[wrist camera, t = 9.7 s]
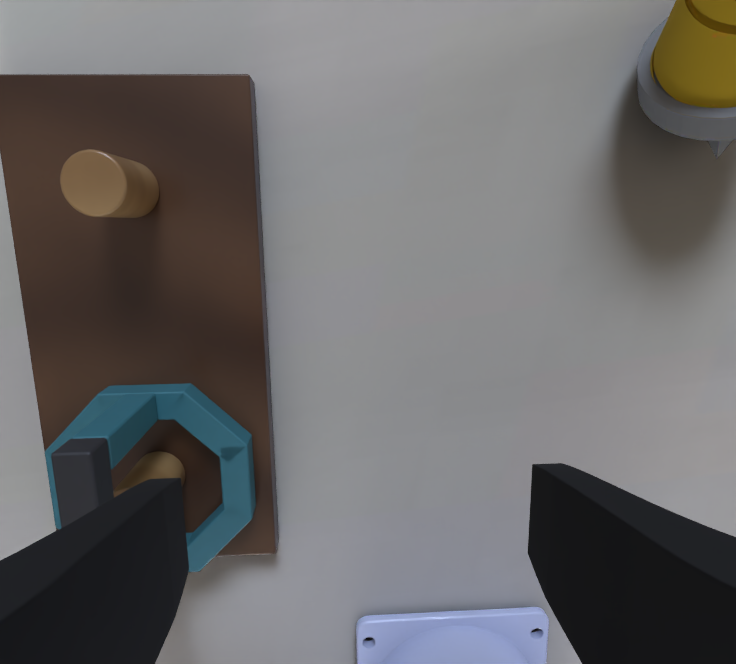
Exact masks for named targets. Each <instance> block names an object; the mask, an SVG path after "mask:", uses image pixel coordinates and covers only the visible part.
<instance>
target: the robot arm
mask: <svg viewBox="0 0 736 664" xmlns="http://www.w3.org/2000/svg"><path fill="white" fill-rule="evenodd" d="M528 555H529V557H530V560H531V563H532V565H533V568H534V570H535V573H536V576H537V578H538V581H539V583H540V585H541V588H542V590H543V593H544V595H545V598H546V599H547V601H548V603H549V605H550V607H551V609H552V610H553V612H554V614H555V616H556V618H557V620H558V621H559V623H560V625H561V627H562V629H563V630H564V632H565V634H566V636H567V637H568V639H569V641H570V643H571V645H572V646H573V648H574V650H575V652H576V653H577V655H578V657H579V659H580V660H581V662H582V664H736V537H734V536H731V535H728V534H725V533H723V532H720V531H717V530H715V529H712V528H710V527H707V526H704V525H702V524H700V523H697V522H695V521H692V520H690V519H688V518H685V517H683V516H680V515H678V514H675V513H673V512H671V511H668V510H666V509H664V508H662V507H659V506H657V505H655V504H653V503H650V502H648V501H646V500H644V499H642V498H640V497H637V496H635V495H633V494H631V493H629V492H627V491H625V490H622V489H620V488H618V487H616V486H614V485H612V484H610V483H608V482H605V481H603V480H601V479H599V478H597V477H595V476H593V475H590V474H588V473H586V472H584V471H581V470H579V469H576V468H574V467H571V466H568V465H565V464H562V463H558V464H533V465H532V484H531V503H530V522H529V541H528ZM188 571H189V561H188V550H187V540H186V529H185V518H184V507H183V497H182V486H181V478H160V479H149V480H146V481H144V482H142V483H140V484H138V485H136V486H134V487H132V488H130V489H128V490H126V491H125V492H123V493H121V494H119V495H118V496H116V497H114V498H113V499H111V500H109V501H108V502H106V503H104V504H102V505H101V506H99V507H97V508H96V509H94V510H92V511H90V512H89V513H87V514H85V515H84V516H82V517H80V518H79V519H77V520H75V521H73V522H72V523H70V524H68V525H66V526H65V527H63V528H61V529H59V530H57V531H55V532H54V533H52V534H50V535H48V536H46V537H44V538H42V539H41V540H39V541H37V542H35V543H33V544H31V545H30V546H28V547H26V548H24V549H22V550H20V551H18V552H17V553H15V554H13V555H11V556H9V557H7V558H5V559H3V560H1V561H0V664H155V662H156V660H157V658H158V655H159V653H160V651H161V648H162V646H163V644H164V641H165V639H166V637H167V635H168V632H169V630H170V628H171V625H172V623H173V621H174V618H175V616H176V612H177V609H178V606H179V603H180V599H181V596H182V593H183V589H184V585H185V582H186V578H187V575H188ZM548 627H549V620H548V617H547V615H546V613H545V611H544V610H543V609H541V608H540V607H522V608H503V609H483V610H464V611H444V612H425V613H405V614H386V615H368V616H363V617H362V618H360V619H359V620H358V622H357V625H356V644H357V664H546V659H547V643H548ZM536 628H539V629H538V630H537V631H535V632H531V631H532V630H534V629H536ZM368 637H370V638H373V639H372V640H370V641H366V640H364V639H365V638H368Z"/></svg>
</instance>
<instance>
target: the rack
mask: <svg viewBox="0 0 736 664" xmlns="http://www.w3.org/2000/svg"><path fill="white" fill-rule="evenodd" d="M0 153H1V159H2V166H3V173H4V180H5V186H6V193H7V200H8V207H9V213H10V220H11V227H12V234H13V240H14V247H15V254H16V261H17V267H18V274H19V281H20V288H21V294H22V301H23V308H24V315H25V321H26V328H27V335H28V342H29V348H30V355H31V362H32V369H33V375H34V382H35V389H36V396H37V402H38V409H39V416H40V423H41V429H42V436H43V443H44V450H45V451H46V449H47V448H48V447H49V446H50V445H51V444H52V443H53V442H54V441H55V440H56V439H57V438H58V436H59V435H60V434H61V433H62V432H63V431H64V430H65V429H66V428H67V427H68V426H69V425H70V423H71V422H72V421H73V420H74V419H75V418H76V417H77V416H78V415H79V414H80V413H81V411H82V410H83V409H84V408H85V407H86V406H87V405H88V404H89V403H90V402H91V401H92V400H93V398H94V397H95V396H96V395H97V394H98V393H100V392H101V391H103V390H104V389H105V388H107V387H108V386H114V385H150V384H185V383H191V384H193V385H194V386H195V387H196V388H197V389H199V390H200V391H201V392H202V393H203V394H205V395H206V396H207V397H208V398H209V399H210V400H212V401H213V402H214V403H215V404H216V405H217V406H219V407H220V408H221V409H222V410H223V411H225V412H226V413H227V414H228V415H229V416H230V417H232V418H233V419H234V420H235V421H236V422H237V423H239V424H240V425H241V426H242V427H243V428H245V429H246V430H247V431H248V432H249V433H250V434H251V435H252V448H253V464H254V480H255V497H256V507H255V511H254V514H253V518H252V520H251V521H250V522H249V523H248V524H247V525H246V526H245V527H244V528H243V529H242V530H241V531H240V532H239V533H238V534H237V535H236V536H235V537H234V538H233V539H232V540H231V541H230V542H229V543H228V544H227V545H226V546H225V547H224V548H223V549H222V550H221V551H220V552H219V553H218V554H217V555H216V556H238V555H260V554H275V553H276V551H277V545H278V540H279V533H278V515H277V496H276V477H275V459H274V440H273V422H272V403H271V385H270V366H269V347H268V329H267V310H266V292H265V273H264V255H263V236H262V217H261V199H260V180H259V162H258V143H257V125H256V106H255V87H254V82H253V80H252V79H251V77H250V75H248V74H141V75H0ZM111 477H112V485H113V493H114V497H116V496H118V495H119V494H121V493H123V492H125V491H126V490H128V489H130V488H132V487H134V486H136V485H138V484H140V483H142V482H144V481H146V480H149V479H160V478H181V486H182V497H183V507H184V518H185V529H186V533H191V532H194V531H195V530H196V529H197V528H198V527H199V526H200V525H201V524H202V523H203V522H204V521H205V520H206V519H207V518H208V517H209V516H210V515H211V514H212V513H213V512H214V511H215V510H216V509H217V508H218V507H219V506H220V505H221V504H222V503H223V498H222V485H221V471H220V458H219V456H218V455H216V454H215V453H214V452H213V451H211V450H210V449H209V448H208V447H207V446H205V445H204V444H203V443H202V442H201V441H199V440H198V439H197V438H196V437H195V436H193V435H192V434H191V433H190V432H189V431H187V430H186V429H185V428H184V427H182V426H181V425H180V424H179V423H178V422H176V421H175V420H157V422H156V423H155V424H154V425H153V426H152V427H151V428H150V429H149V430H148V431H147V432H146V433H145V435H144V436H143V437H142V438H141V439H140V440H139V441H138V442H137V443H136V444H135V445H134V446H133V448H132V449H131V450H130V451H129V452H128V453H127V454H126V455H125V456H124V457H123V458H122V459H121V461H120V462H119V463H118V464H117V465H116V466H115V467H114V468H113V469H111ZM57 530H59V529H57V528H56V531H57ZM216 556H215V557H216Z"/></svg>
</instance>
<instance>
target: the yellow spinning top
mask: <svg viewBox="0 0 736 664" xmlns="http://www.w3.org/2000/svg"><path fill="white" fill-rule="evenodd" d="M637 83H638V97H639V103H640V105H641V107H642V109H643V111H644V113H645V114H646V115H647V116H648V118H649V119H650V120H651V121H652V122H653V123H654V124H656V125H658V126H659V127H661V128H662V129H664V130H665V131H668V132H670V133H673V134H675V135H678V136H681V137H686V138H691V139H696V140H707V141H709V144H710V146H711V148H712V150H713V153H714V155H715V157H716V159H717V158H718V157H719V156H720V155H721V154H722V152H723V151H724V150H725V149H726V148H727V146H728V145H729V144H730V143H731V142H732V140H736V0H676V2H675V4H674V7H673V9H672V11H671V13H670V15H669V17H668V18H667V19H666V20H664V21H663V22H662V23H661V24H660V25H659V26H658V27H657V28H656V29H655V30H654V31H653V32H652V34H651V35H650V37H649V38H648V39H647V41H646V42H645V44H644V46H643V48H642V50H641V53H640V55H639V59H638V66H637Z"/></svg>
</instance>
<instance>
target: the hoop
mask: <svg viewBox="0 0 736 664" xmlns="http://www.w3.org/2000/svg"><path fill="white" fill-rule="evenodd" d="M157 420H175V421H176V422H178V423H179V424H180V425H181V426H182V427H184V428H185V429H186V430H187V431H189V432H190V433H191V434H192V435H193V436H195V437H196V438H197V439H198V440H199V441H201V442H202V443H203V444H204V445H205V446H207V447H208V448H209V449H210V450H211V451H213V452H214V453H215V454H216V455H218V456H219V458H220V471H221V485H222V498H223V503H222V504H221V505H220V506H219V507H218V508H217V509H216V510H215V511H214V512H213V513H212V514H211V515H210V516H209V517H208V518H207V519H206V520H205V521H204V522H203V523H202V524H201V525H200V526H199V527H198V528H197V529H196V530H195V531H194V532H191V533H186V540H187V550H188V561H189V571H188V572H199V571H201V569H202V568H203V567H204V566H205V565H206V564H207V563H208V562H209V561H210V560H211V559H212V558H213V557H215V556H216V555H217V554H218V553H219V552H220V551H221V550H222V549H223V548H224V547H225V546H226V545H227V544H228V543H229V542H230V541H231V540H232V539H233V538H234V537H235V536H236V535H237V534H238V533H239V532H240V531H241V530H242V529H243V528H244V527H245V526H246V525H247V524H248V523H249V522H250V521H251V520H252V518H253V514H254V511H255V507H256V497H255V480H254V464H253V448H252V435H251V434H250V433H249V432H248V431H247V430H246V429H245V428H243V427H242V426H241V425H240V424H239V423H237V422H236V421H235V420H234V419H233V418H232V417H230V416H229V415H228V414H227V413H226V412H225V411H223V410H222V409H221V408H220V407H219V406H217V405H216V404H215V403H214V402H213V401H212V400H210V399H209V398H208V397H207V396H206V395H205V394H203V393H202V392H201V391H200V390H199V389H197V388H196V387H195V386H194V385H193V384H191V383H185V384H150V385H114V386H108V387H107V388H105V389H104V390H103V391H101V392H100V393H98V394H97V395H96V396H95V397H94V398H93V400H92V401H91V402H90V403H89V404H88V405H87V406H86V407H85V408H84V409H83V410H82V411H81V413H80V414H79V415H78V416H77V417H76V418H75V419H74V420H73V421H72V422H71V423H70V425H69V426H68V427H67V428H66V429H65V430H64V431H63V432H62V433H61V434H60V435H59V436H58V438H57V439H56V440H55V441H54V442H53V443H52V444H51V445H50V446H49V447H48V448H47V449H46V451H45V457H46V464H47V471H48V477H49V484H50V491H51V498H52V505H53V511H54V518H55V525H56V528H57V529H61V528H63V527H65V526H66V525H68V524H70V523H72V522H73V521H75V520H77V519H79V518H80V517H82V516H84V515H85V514H87V513H89V512H90V511H92V510H94V509H96V508H97V507H99V506H101V505H102V504H104V503H106V502H108V501H109V500H111V499H113V498H114V493H113V485H112V477H111V469H113V468H114V467H115V466H116V465H117V464H118V463H119V462H120V461H121V459H122V458H123V457H124V456H125V455H126V454H127V453H128V452H129V451H130V450H131V449H132V448H133V446H134V445H135V444H136V443H137V442H138V441H139V440H140V439H141V438H142V437H143V436H144V435H145V433H146V432H147V431H148V430H149V429H150V428H151V427H152V426H153V425H154V424H155V423H156V422H157Z"/></svg>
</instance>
